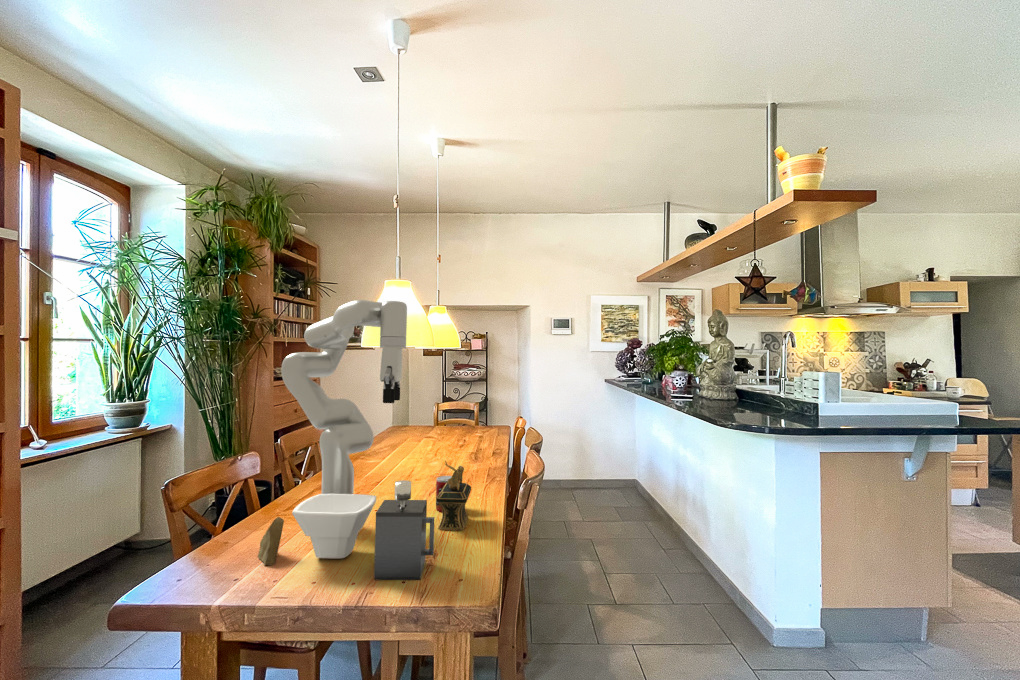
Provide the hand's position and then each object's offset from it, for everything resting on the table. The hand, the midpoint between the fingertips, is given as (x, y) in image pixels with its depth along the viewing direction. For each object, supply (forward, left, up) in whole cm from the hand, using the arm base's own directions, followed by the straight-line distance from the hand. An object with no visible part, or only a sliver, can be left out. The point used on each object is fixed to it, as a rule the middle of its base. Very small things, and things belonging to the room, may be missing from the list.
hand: (391, 401), depth 151 cm
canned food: (+15, +31, -40) cm, 53 cm away
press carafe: (+8, -21, -40) cm, 46 cm away
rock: (-29, -13, -41) cm, 52 cm away
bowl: (-12, -11, -40) cm, 44 cm away
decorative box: (+18, +14, -41) cm, 47 cm away
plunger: (+7, -21, -39) cm, 45 cm away
